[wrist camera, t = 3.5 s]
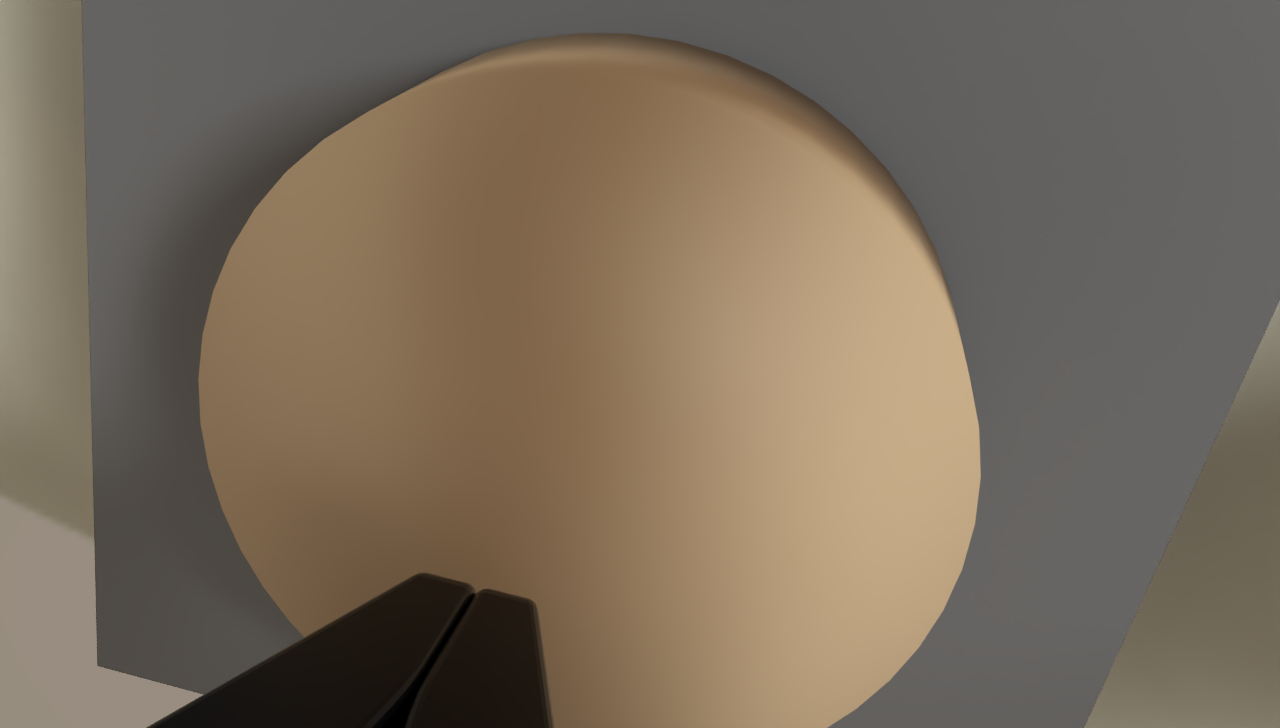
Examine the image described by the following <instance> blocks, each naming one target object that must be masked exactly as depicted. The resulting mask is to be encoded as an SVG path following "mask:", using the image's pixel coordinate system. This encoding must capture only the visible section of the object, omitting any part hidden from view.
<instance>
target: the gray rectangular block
mask: <svg viewBox="0 0 1280 728" xmlns="http://www.w3.org/2000/svg"><path fill="white" fill-rule="evenodd" d="M82 30H83V73H84V115H85V157H86V199H87V242H88V284H89V326H90V369H91V411H92V453H93V495H94V538H95V579H96V620H97V621H96V622H97V660H98V661H97V664H98V666H100V667H104V668H108V669H111V670H115V671H119V672H122V673H126V674H130V675H134V676H137V677H141V678H145V679H149V680H152V681H156V682H160V683H163V684H167V685H171V686H174V687H178V688H182V689H186V690H189V691H193V692H197V693H200V694H206V693H208V692H210V691H211V690H213V689H215V688H217V687H218V686H220V685H222V684H224V683H225V682H227V681H229V680H231V679H232V678H234V677H236V676H238V675H239V674H241V673H243V672H245V671H246V670H248V669H250V668H252V667H253V666H255V665H257V664H259V663H260V662H262V661H264V660H266V659H267V658H269V657H271V656H273V655H274V654H276V653H278V652H280V651H281V650H283V649H285V648H287V647H288V646H290V645H292V644H294V643H295V642H297V641H299V640H301V639H302V638H304V636H303V635H302V634H301V633H300V632H299V631H298V630H297V629H296V628H295V627H294V626H293V625H292V624H291V623H290V621H289V620H288V619H287V617H286V616H285V615H284V613H283V612H282V611H281V610H280V608H279V607H278V606H277V604H276V603H275V602H274V600H273V599H272V598H271V597H270V595H269V594H268V593H267V591H266V590H265V589H264V587H263V586H262V584H261V582H260V581H259V579H258V578H257V576H256V574H255V573H254V571H253V569H252V568H251V566H250V564H249V563H248V561H247V559H246V558H245V556H244V555H243V553H242V551H241V550H240V547H239V545H238V543H237V541H236V539H235V536H234V534H233V532H232V530H231V528H230V526H229V523H228V521H227V519H226V517H225V515H224V513H223V510H222V508H221V505H220V501H219V498H218V495H217V492H216V489H215V486H214V483H213V480H212V476H211V473H210V470H209V467H208V462H207V456H206V451H205V445H204V440H203V434H202V429H201V424H200V403H199V382H198V378H199V367H200V356H201V346H202V335H203V331H204V327H205V323H206V318H207V314H208V310H209V306H210V302H211V298H212V294H213V290H214V288H215V285H216V283H217V281H218V278H219V276H220V273H221V271H222V268H223V266H224V264H225V261H226V259H227V256H228V254H229V251H230V249H231V247H232V246H233V244H234V242H235V241H236V239H237V237H238V236H239V234H240V232H241V231H242V229H243V227H244V226H245V224H246V223H247V221H248V219H249V218H250V216H251V214H252V213H253V211H254V209H255V208H256V207H257V206H258V204H259V203H260V202H261V201H262V200H263V199H264V197H265V196H266V195H267V194H268V193H269V191H270V190H271V189H272V188H273V187H274V186H275V184H276V183H277V182H278V181H279V180H280V178H281V177H282V176H283V175H284V174H285V173H286V172H287V171H288V170H289V169H290V168H291V167H292V166H293V165H295V164H296V163H297V162H298V161H299V160H300V159H302V158H303V157H304V156H305V155H306V154H307V153H308V152H310V151H311V150H312V149H313V148H314V147H315V146H317V145H318V144H319V143H320V142H321V141H322V140H324V139H325V138H327V137H328V136H330V135H332V134H333V133H335V132H336V131H338V130H339V129H341V128H343V127H344V126H346V125H347V124H349V123H351V122H352V121H354V120H355V119H357V118H359V117H360V116H362V115H363V114H365V113H367V112H368V111H370V110H372V109H374V108H376V107H378V106H380V105H381V104H383V103H385V102H387V101H389V100H391V99H393V98H394V97H396V96H398V95H400V94H402V93H404V92H405V91H407V90H409V89H411V88H413V87H415V86H417V85H418V84H420V83H422V82H424V81H426V80H428V79H430V78H431V77H433V76H435V75H437V74H439V73H441V72H443V71H444V70H446V69H449V68H451V67H453V66H455V65H458V64H460V63H462V62H465V61H467V60H469V59H472V58H474V57H476V56H478V55H481V54H483V53H485V52H488V51H491V50H495V49H498V48H502V47H506V46H509V45H513V44H517V43H520V42H524V41H528V40H531V39H537V38H545V37H553V36H561V35H569V34H576V33H621V34H635V35H642V36H649V37H655V38H662V39H669V40H675V41H680V42H684V43H687V44H691V45H694V46H698V47H701V48H704V49H708V50H711V51H715V52H718V53H722V54H725V55H728V56H730V57H732V58H735V59H737V60H739V61H741V62H744V63H746V64H748V65H750V66H753V67H755V68H757V69H759V70H762V71H764V72H766V73H768V74H771V75H773V76H774V77H776V78H778V79H779V80H781V81H783V82H784V83H786V84H787V85H789V86H791V87H792V88H794V89H796V90H797V91H799V92H801V93H802V94H804V95H805V96H807V97H809V98H810V99H812V100H814V101H815V102H816V103H818V104H819V105H820V106H821V107H823V108H824V109H825V110H826V111H827V112H829V113H830V114H831V115H832V116H834V117H835V118H836V119H837V120H838V121H840V122H841V123H842V124H843V125H845V126H846V127H847V128H848V129H849V130H851V131H852V132H853V133H854V134H855V135H856V136H857V137H858V138H859V139H860V140H861V141H862V142H863V144H864V145H865V146H866V147H867V148H868V149H869V150H870V151H871V152H872V153H873V154H874V155H875V156H876V157H877V159H878V160H879V161H880V162H881V163H882V164H883V165H884V166H885V167H886V168H887V169H888V171H889V172H890V174H891V175H892V177H893V178H894V179H895V181H896V182H897V184H898V185H899V187H900V188H901V189H902V191H903V192H904V194H905V195H906V197H907V198H908V199H909V201H910V202H911V204H912V205H913V206H914V208H915V210H916V212H917V214H918V216H919V218H920V220H921V222H922V224H923V226H924V228H925V230H926V231H927V233H928V235H929V237H930V239H931V241H932V243H933V245H934V247H935V249H936V252H937V255H938V258H939V261H940V264H941V267H942V269H943V272H944V275H945V278H946V281H947V284H948V287H949V290H950V293H951V298H952V302H953V306H954V311H955V315H956V319H957V324H958V328H959V333H960V337H961V341H962V346H963V350H964V354H965V359H966V363H967V367H968V372H969V376H970V381H971V387H972V392H973V397H974V403H975V408H976V413H977V419H978V424H979V438H980V469H981V479H980V487H979V495H978V504H977V512H976V520H975V526H974V529H973V533H972V537H971V540H970V544H969V547H968V551H967V554H966V558H965V561H964V565H963V568H962V571H961V573H960V575H959V577H958V579H957V582H956V584H955V586H954V588H953V590H952V592H951V595H950V597H949V599H948V601H947V603H946V606H945V608H944V610H943V612H942V613H941V615H940V616H939V618H938V619H937V621H936V622H935V624H934V625H933V627H932V628H931V630H930V631H929V633H928V634H927V636H926V637H925V639H924V641H923V642H922V644H921V645H920V647H919V648H918V649H917V650H916V651H915V653H914V654H913V655H912V656H911V657H910V658H909V659H908V660H907V662H906V663H905V664H904V665H903V666H902V667H901V668H900V669H899V671H898V672H897V673H896V674H895V675H894V676H893V677H892V678H891V680H890V681H889V682H887V683H886V684H885V685H884V686H883V687H881V688H880V689H879V690H878V691H877V692H876V693H874V694H873V695H872V696H871V697H870V698H869V699H867V700H866V701H865V702H864V703H863V704H861V705H860V706H859V707H858V708H857V709H855V710H854V711H852V712H851V713H849V714H848V715H846V716H845V717H843V718H841V719H840V720H838V721H837V722H835V723H834V724H832V725H831V726H829V727H827V728H1084V726H1085V724H1086V722H1087V720H1088V717H1089V715H1090V713H1091V711H1092V709H1093V706H1094V704H1095V702H1096V700H1097V698H1098V695H1099V693H1100V691H1101V689H1102V687H1103V685H1104V682H1105V680H1106V678H1107V676H1108V674H1109V671H1110V669H1111V667H1112V665H1113V663H1114V661H1115V658H1116V656H1117V654H1118V652H1119V650H1120V647H1121V645H1122V643H1123V641H1124V639H1125V637H1126V634H1127V632H1128V630H1129V628H1130V626H1131V623H1132V621H1133V619H1134V617H1135V615H1136V613H1137V610H1138V608H1139V606H1140V604H1141V602H1142V599H1143V597H1144V595H1145V593H1146V591H1147V589H1148V586H1149V584H1150V582H1151V580H1152V578H1153V575H1154V573H1155V571H1156V569H1157V567H1158V565H1159V562H1160V560H1161V558H1162V556H1163V554H1164V551H1165V549H1166V547H1167V545H1168V543H1169V540H1170V538H1171V536H1172V534H1173V532H1174V530H1175V527H1176V525H1177V523H1178V521H1179V519H1180V516H1181V514H1182V512H1183V510H1184V508H1185V506H1186V503H1187V501H1188V499H1189V497H1190V495H1191V492H1192V490H1193V488H1194V486H1195V484H1196V482H1197V479H1198V477H1199V475H1200V473H1201V471H1202V468H1203V466H1204V464H1205V462H1206V460H1207V458H1208V455H1209V453H1210V451H1211V449H1212V447H1213V444H1214V442H1215V440H1216V438H1217V436H1218V434H1219V431H1220V429H1221V427H1222V425H1223V423H1224V420H1225V418H1226V416H1227V414H1228V412H1229V409H1230V407H1231V405H1232V403H1233V401H1234V399H1235V396H1236V394H1237V392H1238V390H1239V388H1240V385H1241V383H1242V381H1243V379H1244V377H1245V375H1246V372H1247V370H1248V368H1249V366H1250V364H1251V361H1252V359H1253V357H1254V355H1255V353H1256V351H1257V348H1258V346H1259V344H1260V342H1261V340H1262V337H1263V335H1264V333H1265V331H1266V329H1267V327H1268V324H1269V322H1270V320H1271V318H1272V316H1273V313H1274V311H1275V309H1276V307H1277V305H1278V303H1279V300H1280V0H82Z"/></svg>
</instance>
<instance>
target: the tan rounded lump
mask: <svg viewBox="0 0 1280 728" xmlns="http://www.w3.org/2000/svg"><path fill="white" fill-rule="evenodd" d="M198 382H199V403H200V424H201V429H202V434H203V440H204V445H205V451H206V456H207V462H208V467H209V470H210V473H211V476H212V480H213V483H214V486H215V489H216V492H217V495H218V498H219V501H220V505H221V508H222V510H223V513H224V515H225V517H226V519H227V521H228V523H229V526H230V528H231V530H232V532H233V534H234V536H235V539H236V541H237V543H238V545H239V547H240V550H241V551H242V553H243V555H244V556H245V558H246V559H247V561H248V563H249V564H250V566H251V568H252V569H253V571H254V573H255V574H256V576H257V578H258V579H259V581H260V582H261V584H262V586H263V587H264V589H265V590H266V591H267V593H268V594H269V595H270V597H271V598H272V599H273V600H274V602H275V603H276V604H277V606H278V607H279V608H280V610H281V611H282V612H283V613H284V615H285V616H286V617H287V619H288V620H289V621H290V623H291V624H292V625H293V626H294V627H295V628H296V629H297V630H298V631H299V632H300V633H301V634H302V635H303V636H304V637H306V636H308V635H309V634H311V633H313V632H315V631H317V630H318V629H320V628H322V627H324V626H325V625H327V624H329V623H331V622H332V621H334V620H336V619H338V618H339V617H341V616H343V615H345V614H346V613H348V612H350V611H352V610H353V609H355V608H357V607H359V606H360V605H362V604H364V603H366V602H367V601H369V600H371V599H373V598H374V597H376V596H378V595H380V594H381V593H383V592H385V591H387V590H388V589H390V588H392V587H394V586H395V585H397V584H399V583H401V582H402V581H404V580H406V579H408V578H409V577H411V576H413V575H415V574H418V573H430V574H434V575H438V576H442V577H446V578H450V579H454V580H458V581H462V582H466V583H469V584H471V585H472V586H473V587H474V589H475V591H476V593H477V592H478V591H480V590H482V589H486V588H487V589H493V590H497V591H501V592H505V593H509V594H513V595H517V596H521V597H525V598H529V599H531V600H532V601H534V602H535V604H536V606H537V608H538V614H539V621H540V628H541V635H542V642H543V649H544V656H545V664H546V671H547V678H548V685H549V692H550V699H551V706H552V713H553V720H554V727H555V728H827V727H829V726H831V725H832V724H834V723H835V722H837V721H838V720H840V719H841V718H843V717H845V716H846V715H848V714H849V713H851V712H852V711H854V710H855V709H857V708H858V707H859V706H860V705H861V704H863V703H864V702H865V701H866V700H867V699H869V698H870V697H871V696H872V695H873V694H874V693H876V692H877V691H878V690H879V689H880V688H881V687H883V686H884V685H885V684H886V683H887V682H889V681H890V680H891V678H892V677H893V676H894V675H895V674H896V673H897V672H898V671H899V669H900V668H901V667H902V666H903V665H904V664H905V663H906V662H907V660H908V659H909V658H910V657H911V656H912V655H913V654H914V653H915V651H916V650H917V649H918V648H919V647H920V645H921V644H922V642H923V641H924V639H925V637H926V636H927V634H928V633H929V631H930V630H931V628H932V627H933V625H934V624H935V622H936V621H937V619H938V618H939V616H940V615H941V613H942V612H943V610H944V608H945V606H946V603H947V601H948V599H949V597H950V595H951V592H952V590H953V588H954V586H955V584H956V582H957V579H958V577H959V575H960V573H961V571H962V568H963V565H964V561H965V558H966V554H967V551H968V547H969V544H970V540H971V537H972V533H973V529H974V526H975V520H976V512H977V504H978V495H979V487H980V479H981V469H980V438H979V424H978V419H977V413H976V408H975V403H974V397H973V392H972V387H971V381H970V376H969V372H968V367H967V363H966V359H965V354H964V350H963V346H962V341H961V337H960V333H959V328H958V324H957V319H956V315H955V311H954V306H953V302H952V298H951V293H950V290H949V287H948V284H947V281H946V278H945V275H944V272H943V269H942V267H941V264H940V261H939V258H938V255H937V252H936V249H935V247H934V245H933V243H932V241H931V239H930V237H929V235H928V233H927V231H926V230H925V228H924V226H923V224H922V222H921V220H920V218H919V216H918V214H917V212H916V210H915V208H914V206H913V205H912V204H911V202H910V201H909V199H908V198H907V197H906V195H905V194H904V192H903V191H902V189H901V188H900V187H899V185H898V184H897V182H896V181H895V179H894V178H893V177H892V175H891V174H890V172H889V171H888V169H887V168H886V167H885V166H884V165H883V164H882V163H881V162H880V161H879V160H878V159H877V157H876V156H875V155H874V154H873V153H872V152H871V151H870V150H869V149H868V148H867V147H866V146H865V145H864V144H863V142H862V141H861V140H860V139H859V138H858V137H857V136H856V135H855V134H854V133H853V132H852V131H851V130H849V129H848V128H847V127H846V126H845V125H843V124H842V123H841V122H840V121H838V120H837V119H836V118H835V117H834V116H832V115H831V114H830V113H829V112H827V111H826V110H825V109H824V108H823V107H821V106H820V105H819V104H818V103H816V102H815V101H814V100H812V99H810V98H809V97H807V96H805V95H804V94H802V93H801V92H799V91H797V90H796V89H794V88H792V87H791V86H789V85H787V84H786V83H784V82H783V81H781V80H779V79H778V78H776V77H774V76H773V75H771V74H768V73H766V72H764V71H762V70H759V69H757V68H755V67H753V66H750V65H748V64H746V63H744V62H741V61H739V60H737V59H735V58H732V57H730V56H728V55H725V54H722V53H718V52H715V51H711V50H708V49H704V48H701V47H698V46H694V45H691V44H687V43H684V42H680V41H675V40H669V39H662V38H655V37H649V36H642V35H635V34H621V33H576V34H569V35H561V36H553V37H545V38H537V39H531V40H528V41H524V42H520V43H517V44H513V45H509V46H506V47H502V48H498V49H495V50H491V51H488V52H485V53H483V54H481V55H478V56H476V57H474V58H472V59H469V60H467V61H465V62H462V63H460V64H458V65H455V66H453V67H451V68H449V69H446V70H444V71H443V72H441V73H439V74H437V75H435V76H433V77H431V78H430V79H428V80H426V81H424V82H422V83H420V84H418V85H417V86H415V87H413V88H411V89H409V90H407V91H405V92H404V93H402V94H400V95H398V96H396V97H394V98H393V99H391V100H389V101H387V102H385V103H383V104H381V105H380V106H378V107H376V108H374V109H372V110H370V111H368V112H367V113H365V114H363V115H362V116H360V117H359V118H357V119H355V120H354V121H352V122H351V123H349V124H347V125H346V126H344V127H343V128H341V129H339V130H338V131H336V132H335V133H333V134H332V135H330V136H328V137H327V138H325V139H324V140H322V141H321V142H320V143H319V144H318V145H317V146H315V147H314V148H313V149H312V150H311V151H310V152H308V153H307V154H306V155H305V156H304V157H303V158H302V159H300V160H299V161H298V162H297V163H296V164H295V165H293V166H292V167H291V168H290V169H289V170H288V171H287V172H286V173H285V174H284V175H283V176H282V177H281V178H280V180H279V181H278V182H277V183H276V184H275V186H274V187H273V188H272V189H271V190H270V191H269V193H268V194H267V195H266V196H265V197H264V199H263V200H262V201H261V202H260V203H259V204H258V206H257V207H256V208H255V209H254V211H253V213H252V214H251V216H250V218H249V219H248V221H247V223H246V224H245V226H244V227H243V229H242V231H241V232H240V234H239V236H238V237H237V239H236V241H235V242H234V244H233V246H232V247H231V249H230V251H229V254H228V256H227V259H226V261H225V264H224V266H223V268H222V271H221V273H220V276H219V278H218V281H217V283H216V285H215V288H214V290H213V294H212V298H211V302H210V306H209V310H208V314H207V318H206V323H205V327H204V331H203V335H202V346H201V356H200V367H199V378H198Z"/></svg>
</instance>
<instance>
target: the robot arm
mask: <svg viewBox="0 0 1280 728" xmlns="http://www.w3.org/2000/svg"><path fill="white" fill-rule="evenodd" d="M147 728H555V727H554V720H553V713H552V706H551V699H550V692H549V685H548V678H547V671H546V664H545V656H544V649H543V642H542V635H541V628H540V621H539V614H538V608H537V606H536V604H535V602H534V601H532V600H531V599H529V598H525V597H521V596H517V595H513V594H509V593H505V592H501V591H497V590H493V589H487V588H486V589H482V590H480V591H478V592H477V593H476V591H475V589H474V587H473V586H472V585H471V584H469V583H466V582H462V581H458V580H454V579H450V578H446V577H442V576H438V575H434V574H430V573H418V574H415V575H413V576H411V577H409V578H408V579H406V580H404V581H402V582H401V583H399V584H397V585H395V586H394V587H392V588H390V589H388V590H387V591H385V592H383V593H381V594H380V595H378V596H376V597H374V598H373V599H371V600H369V601H367V602H366V603H364V604H362V605H360V606H359V607H357V608H355V609H353V610H352V611H350V612H348V613H346V614H345V615H343V616H341V617H339V618H338V619H336V620H334V621H332V622H331V623H329V624H327V625H325V626H324V627H322V628H320V629H318V630H317V631H315V632H313V633H311V634H309V635H308V636H306V637H304V638H302V639H301V640H299V641H297V642H295V643H294V644H292V645H290V646H288V647H287V648H285V649H283V650H281V651H280V652H278V653H276V654H274V655H273V656H271V657H269V658H267V659H266V660H264V661H262V662H260V663H259V664H257V665H255V666H253V667H252V668H250V669H248V670H246V671H245V672H243V673H241V674H239V675H238V676H236V677H234V678H232V679H231V680H229V681H227V682H225V683H224V684H222V685H220V686H218V687H217V688H215V689H213V690H211V691H210V692H208V693H206V694H204V695H203V696H201V697H199V698H197V699H196V700H194V701H192V702H190V703H189V704H187V705H185V706H183V707H182V708H180V709H178V710H176V711H175V712H173V713H171V714H170V715H168V716H166V717H164V718H163V719H161V720H159V721H157V722H155V723H154V724H152V725H150V726H149V727H147Z"/></svg>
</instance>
